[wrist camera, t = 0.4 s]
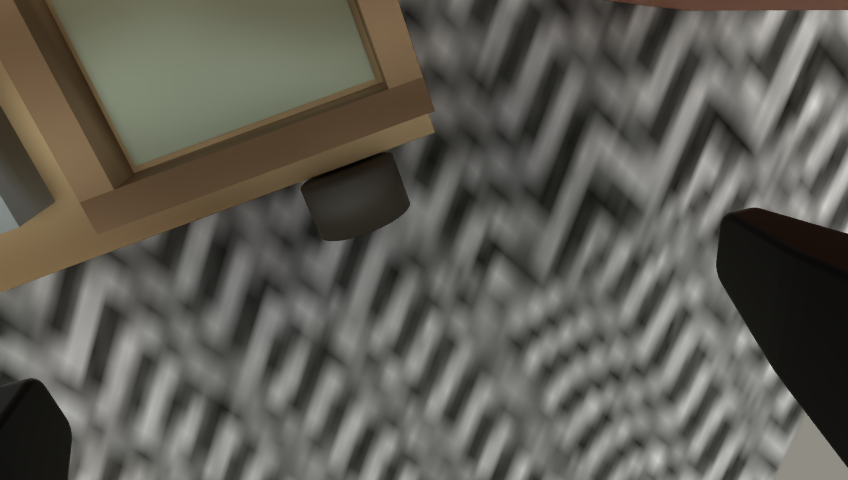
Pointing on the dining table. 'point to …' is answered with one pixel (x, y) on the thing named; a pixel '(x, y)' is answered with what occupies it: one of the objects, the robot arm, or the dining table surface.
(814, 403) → the robot arm
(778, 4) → the reddish brown block
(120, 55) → the chassis
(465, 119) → the dining table surface
